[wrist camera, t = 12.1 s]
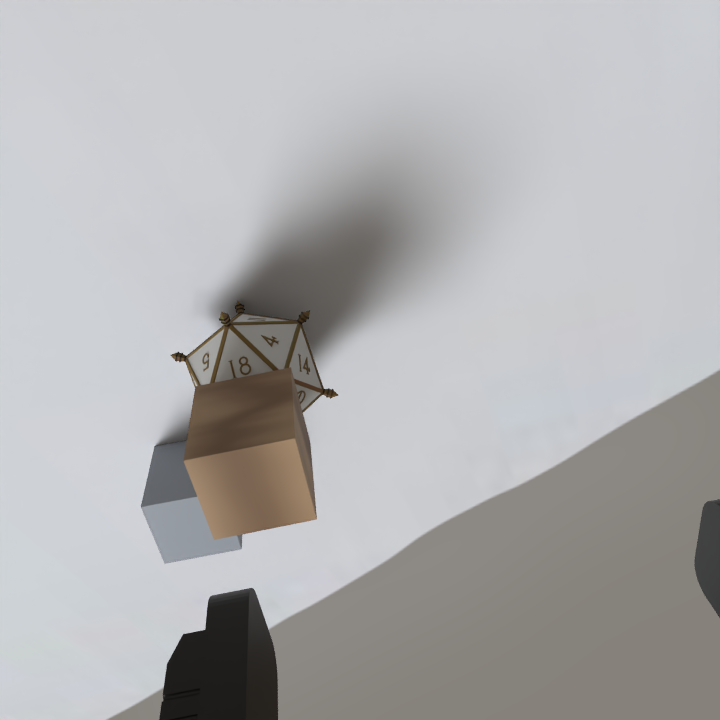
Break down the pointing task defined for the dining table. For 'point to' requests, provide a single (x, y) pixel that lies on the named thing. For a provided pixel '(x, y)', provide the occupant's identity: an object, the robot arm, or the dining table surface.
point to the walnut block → (250, 454)
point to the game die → (257, 353)
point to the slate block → (178, 509)
